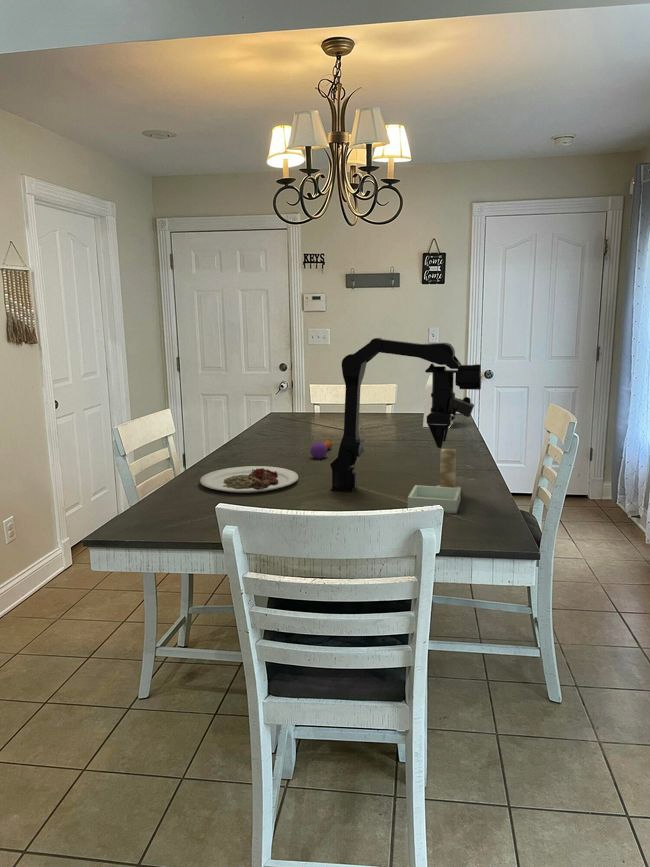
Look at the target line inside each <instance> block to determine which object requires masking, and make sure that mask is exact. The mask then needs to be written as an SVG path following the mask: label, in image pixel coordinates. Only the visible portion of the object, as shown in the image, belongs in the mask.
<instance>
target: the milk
mask: <svg viewBox="0 0 650 867" xmlns="http://www.w3.org/2000/svg"><path fill="white" fill-rule="evenodd" d="M432 374H433V373H429V376H428V380H427V382H426V384H425V390H424V405H423V406H424V407H423V420H422V428H423V427H429V426H428V424H427V416H428V415H429V414H430V413H431V408H432V397H431V393H432ZM451 416H453V414H451ZM452 424H453V425H454V419H453V420H452V421H451V425H452ZM451 425H450V426H449V428H450V427H451ZM451 428H452V427H451ZM451 428H450V429H451Z"/></svg>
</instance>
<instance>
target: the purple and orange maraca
mask: <svg viewBox="0 0 650 867" xmlns="http://www.w3.org/2000/svg"><path fill="white" fill-rule="evenodd" d="M331 448H333V444H332V441H330V440H325V441H324V442H321V441H318V442H314V443H313V444H311V446H310V454H311V456H312V458H314V459H315V460H321V459H323V458H325V457H326V456H327V454H328V450H330V449H331Z"/></svg>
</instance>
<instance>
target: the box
mask: <svg viewBox="0 0 650 867" xmlns="http://www.w3.org/2000/svg"><path fill="white" fill-rule="evenodd" d="M436 486H437V485H436ZM436 486H435V485H431V486H430V485H420V484H419V485H417V484H415V485H414V487H413V488H412V489H411V491H410V493H409V494H408V496H407V509H408V508H412V507H423V506H433V505H440V506H442V507H443V508H444V511H445V513H444V514H452V513H456V514H457V512H458V509H459V507H460V503H461V500H462V499H461V498H462V497H461V496H462V495H461V494H462V487H461V488H451V487H436Z"/></svg>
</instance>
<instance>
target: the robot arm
mask: <svg viewBox="0 0 650 867" xmlns="http://www.w3.org/2000/svg"><path fill="white" fill-rule="evenodd" d="M380 353H381V354H389V355H390V354H391V355H398V356H404V357H412V358H419V359H422V360H425V361H427V362H430V363H431V364H430V365H429V367H427V368H426V369H425V370H424V371H425V373H427V374H428V373H429V374H431V373H433V374H432V393H431V397H432V408H431V413H430V414H429V415H428V416H427V424H428V426H429V428H428V429H429V430H430V433H431V435H432V438H433V440H434V442H435V445H436V448H437V449H443V448H442V447H443V444H444V443H445V442H446V441H447V436H448V432H449V429H448V428H449V426H450V425H451V421H452V420H453V421H454V419H455V418H456V416H457V414H460V415H462V416H464V417H467V418H470V417H471V415H472V413H473V410H474V407H475V404H474V403H472V400H471V398H470V397H468V396H465V397H464V398H462V399H461V398H458V397H456V393H455V391H454V384H455V386H457V387H459V390H471V391H472V390H475V391H476V390H477V391H480V390H482V372H481V371H482V368H481V367H482V365H481V364H477V363H476V364H462V363H461V361H460V360H459V359H458V358H457V356H456V350H455V347H454V346H453V345H452V344H451V343H450V342H449V343H448V342H432V343H431V342H429V343H415V342H408V341H399V340H393V339H385V338H382V337H375V338H373V339H372V338H371V340H370V341H369V342H368V343H366V344H365V345H364V346H362V347H361V348H360V349H358V350H357V351H355V353H351V354H350V353H349V354H348V355H345V356H344V357H343V358H342V361H341V371H342V378H343V381H344V384H345V394H344V397H345V398H344V417H343V418H344V420H343V435H342V438H341V441H340V443H339V448H338V452H337V457H336V458H335V459H334V460H333V461H332V462H331V463H330V468H331V477H332V478H331V487H330V491H338V492H350V493H351V492H353V491H354V490H355V489H356V488H357V487H358V473H357V472H356V467H354V466H356V463H357V462H358V461H359V460H360V459H361V458H362V456H363V454H364V453H365V449H364V444H365V442H366V440H365V439H364V438H362V439H361V438H360V434H359V429H360V428H359V427H360V424H359V423H360V408H361V407H360V406H361V404H360V403H361V386H362V383H363V379H364V376H365V374H366V368H367V364H368V363H369V362H370V361H371V360H373V359H374V358H375V357H376V356H377V355H378V354H380ZM435 364H437V365H435ZM438 365H439V366H438ZM440 365H441V366H440ZM447 367H448V368H449V369H447ZM454 374H455V381H454ZM454 382H455V383H454ZM451 414H453V416H451Z"/></svg>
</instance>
